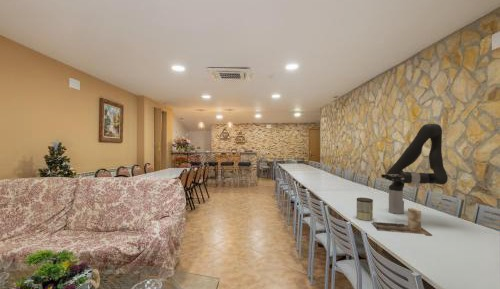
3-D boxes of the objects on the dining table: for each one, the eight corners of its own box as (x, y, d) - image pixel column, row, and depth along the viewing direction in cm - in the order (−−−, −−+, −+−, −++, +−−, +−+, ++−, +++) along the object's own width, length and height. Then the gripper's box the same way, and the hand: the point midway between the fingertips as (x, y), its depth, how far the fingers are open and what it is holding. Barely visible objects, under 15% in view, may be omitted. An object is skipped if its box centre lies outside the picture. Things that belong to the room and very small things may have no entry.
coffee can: (354, 217, 175) (354, 197, 174) (369, 217, 174) (369, 197, 173) (359, 221, 164) (359, 200, 164) (375, 222, 163) (375, 201, 163)
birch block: (416, 228, 150) (417, 208, 150) (420, 231, 145) (421, 210, 145) (407, 227, 151) (408, 208, 151) (411, 230, 146) (411, 210, 146)
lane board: (419, 227, 154) (419, 223, 154) (432, 235, 140) (432, 232, 140) (370, 223, 160) (370, 220, 160) (377, 231, 146) (377, 228, 146)
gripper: (405, 170, 169) (380, 170, 172) (415, 173, 155) (387, 172, 158) (405, 181, 169) (380, 180, 172) (414, 185, 155) (386, 184, 158)
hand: (383, 176), depth 165 cm, fingers open, 8 cm apart
